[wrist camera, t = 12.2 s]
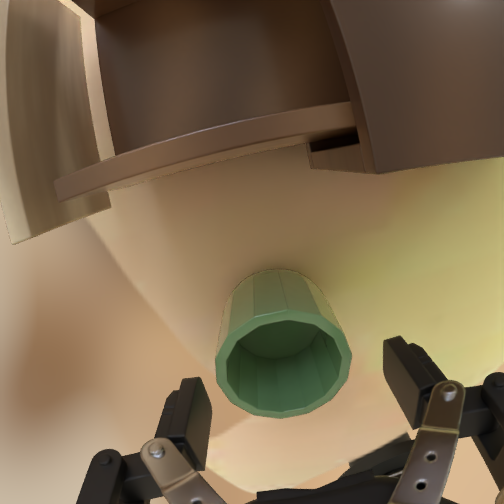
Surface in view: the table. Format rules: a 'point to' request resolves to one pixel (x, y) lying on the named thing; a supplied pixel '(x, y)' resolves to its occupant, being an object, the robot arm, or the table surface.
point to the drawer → (155, 95)
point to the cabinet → (417, 83)
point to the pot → (280, 346)
